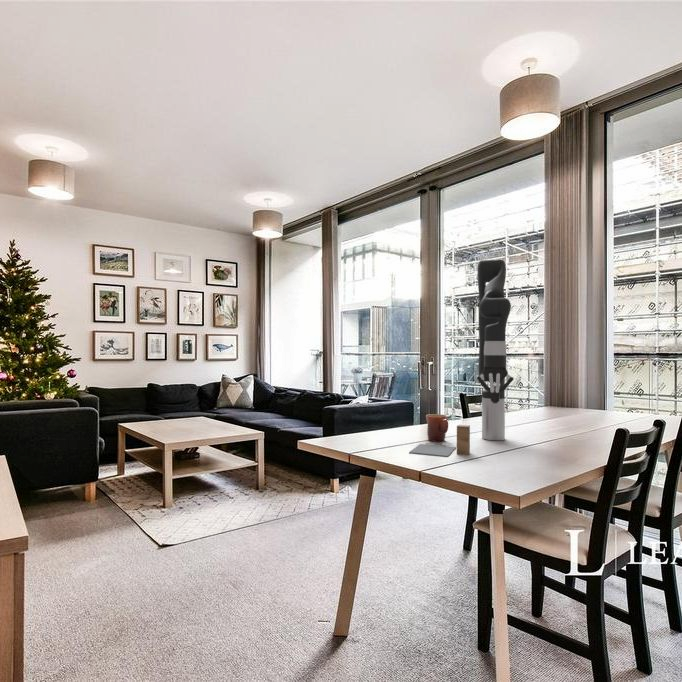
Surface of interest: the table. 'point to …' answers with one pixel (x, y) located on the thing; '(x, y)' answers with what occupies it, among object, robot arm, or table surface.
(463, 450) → the walnut block
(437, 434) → the mug
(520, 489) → the table surface
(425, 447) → the mat
